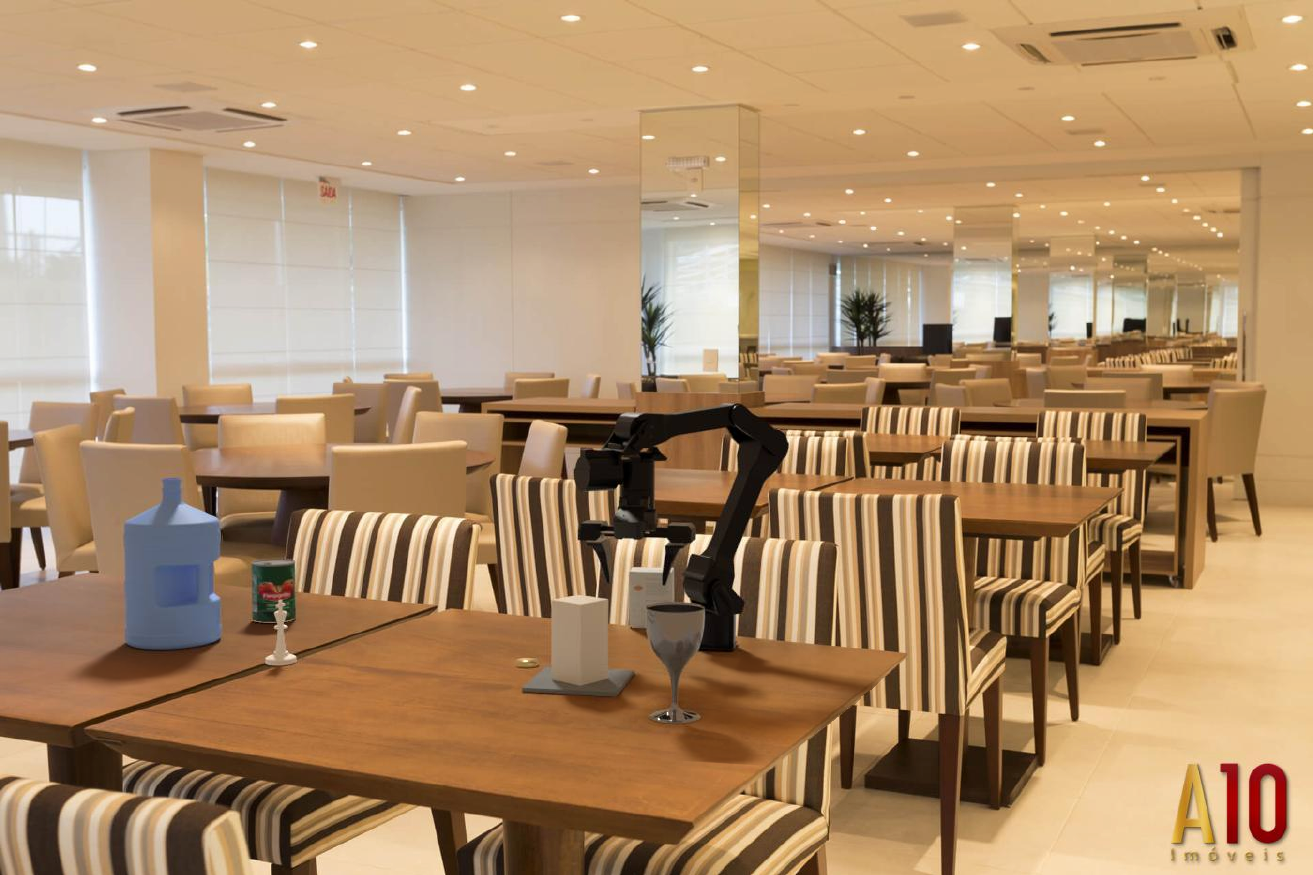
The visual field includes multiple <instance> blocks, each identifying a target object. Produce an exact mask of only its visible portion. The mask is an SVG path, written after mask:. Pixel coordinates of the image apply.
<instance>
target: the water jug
mask: <svg viewBox="0 0 1313 875" xmlns="http://www.w3.org/2000/svg"><path fill="white" fill-rule="evenodd" d="M161 482H162V488H161V492H162V501H161V502H160V503H159V504H157V505H155V506H153V507H151V508H149V509H147V510H145V511H143V512H142V513H139V514H138V515H135V516H133V517H131V518H130V519H127V520H126V521H125V522H124V524H123V530H124V531H123V536H122V539H123V548H124V581H123V583H124V584H123V593H124V602H125V603H124V604H125V605H124V607H125V608H124V610H125V613H124V614H125V615H124V616H125V628H124V641H125V643H126V644H127V645H128V646H130V647H132V648H135V649H140V650H151V651H168V650H183V649H191V648H192V649H193V648H197V647H203V646H207V645H209V644H211V643H215V642H217V641H218V640H219V639H220V638H221V637H222V634H223V624H222V622H221V620H222V615H221V614H222V613H221V612H222V611H221V610H222V608H221V606H222V604H221V603H222V602H221V600H222V599H221V597H220V596H218V595H217V594H216V593H215V591H214V562H215V561H218V560H219V559H220V558H221V542H222V541H221V540H222V535H221V534H222V532H221V526H220V525H221V521H220V519H219V518H218V517H217V516H214V515H211V514H209V513H207V512H205V511H203V510H200V509H198V508H196V507H194V506H191V505H189V504H187V503H185V502H184V501H183V498H182V496H183V495H182V492H183V488H182V477H167V478H166V477H165V478H161Z"/></svg>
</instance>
